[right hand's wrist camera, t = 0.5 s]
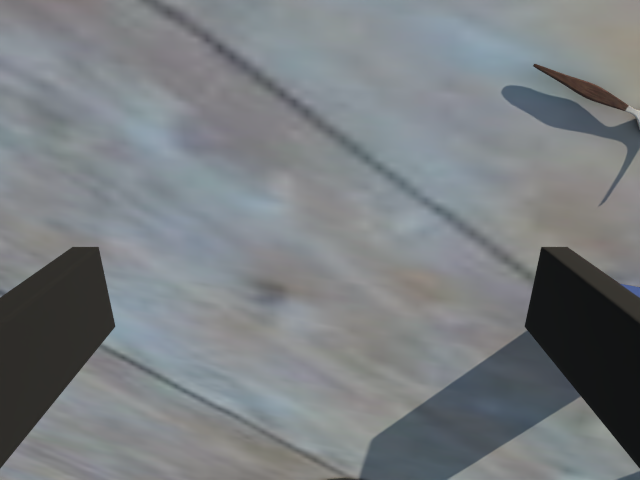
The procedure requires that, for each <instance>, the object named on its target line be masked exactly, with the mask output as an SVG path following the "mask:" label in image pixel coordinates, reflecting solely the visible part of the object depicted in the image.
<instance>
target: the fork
mask: <svg viewBox="0 0 640 480" xmlns="http://www.w3.org/2000/svg"><path fill="white" fill-rule="evenodd" d="M533 66H534V67H535V68H537V69H539V70H540V71H542V72H544V73H545V74H547V75H549V76H550V77H552V78H554V79H556V80H557V81H559V82H561V83H562V84H564V85H565V86H567V87H568V88H570V89H572V90H573V91H575V92H576V93H578V94H580V95H581V96H583V97H585V98H587V99H590V100H592V101H595V102H598V103H601V104H604V105H607V106H610V107H614V108H617V109H620V110H623V111H626V112H629V113H631V114H633V115H634V116H635V117H636V119H637V122H638V125H639V128H640V110H636V109H634V108H632V107H630V106H629V105H627V104H626V103H624V102H623V101H621V100H620V99H618V98H617V97H615V96H614V95H612V94H611V93H609V92H607V91H606V90H604V89H603V88H601V87H599V86H597V85H594V84H592V83H589V82H586V81H583V80H580V79H577V78H574V77H571V76H568V75H565V74H562V73H559V72H556V71H554V70H551V69H548V68H545V67H543V66H540V65H537V64H534V65H533Z"/></svg>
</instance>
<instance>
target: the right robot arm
mask: <svg viewBox="0 0 640 480" xmlns="http://www.w3.org/2000/svg"><path fill="white" fill-rule="evenodd" d="M114 327H115V323H114V318H113V313H112V309H111V304H110V299H109V294H108V290H107V285H106V280H105V276H104V271H103V266H102V261H101V257H100V252H99V247H72V248H71V249H69V250H68V251H66V252H65V253H63V254H62V255H61V256H59V257H58V258H56V259H55V260H53V261H52V262H51V263H49V264H48V265H46V266H45V267H43V268H42V269H41V270H39V271H38V272H36V273H35V274H33V275H32V276H31V277H29V278H28V279H26V280H25V281H23V282H22V283H21V284H19V285H18V286H16V287H15V288H13V289H12V290H11V291H9V292H8V293H6V294H5V295H3V296H2V297H1V298H0V468H1V467H2V466H3V464H4V463H5V462H6V461H7V459H8V458H9V457H10V456H11V454H12V453H13V452H14V451H15V450H16V448H17V447H18V446H19V445H20V443H21V442H22V441H23V440H24V438H25V437H26V436H27V435H28V434H29V432H30V431H31V430H32V429H33V427H34V426H35V425H36V424H37V422H38V421H39V420H40V419H41V417H42V416H43V415H44V414H45V413H46V411H47V410H48V409H49V408H50V406H51V405H52V404H53V403H54V401H55V400H56V399H57V398H58V397H59V395H60V394H61V393H62V392H63V390H64V389H65V388H66V387H67V385H68V384H69V383H70V382H71V380H72V379H73V378H74V377H75V376H76V374H77V373H78V372H79V371H80V369H81V368H82V367H83V366H84V364H85V363H86V362H87V361H88V360H89V358H90V357H91V356H92V355H93V353H94V352H95V351H96V350H97V348H98V347H99V346H100V345H101V343H102V342H103V341H104V340H105V339H106V337H107V336H108V335H109V334H110V332H111V331H112V330H113V329H114ZM525 327H526V329H527V330H528V331H529V332H530V334H531V335H532V336H533V337H534V339H535V340H536V341H537V342H538V343H539V345H540V346H541V347H542V348H543V350H544V351H545V352H546V353H547V355H548V356H549V357H550V358H551V360H552V361H553V362H554V363H555V364H556V366H557V367H558V368H559V369H560V371H561V372H562V373H563V374H564V376H565V377H566V378H567V379H568V380H569V382H570V383H571V384H572V385H573V387H574V388H575V389H576V390H577V392H578V393H579V394H580V395H581V397H582V398H583V399H584V400H585V401H586V403H587V404H588V405H589V406H590V408H591V409H592V410H593V411H594V413H595V414H596V415H597V416H598V417H599V419H600V420H601V421H602V422H603V424H604V425H605V426H606V427H607V429H608V430H609V431H610V432H611V434H612V435H613V436H614V437H615V438H616V440H617V441H618V442H619V443H620V445H621V446H622V447H623V448H624V450H625V451H626V452H627V453H628V454H629V456H630V457H631V458H632V459H633V461H634V462H635V463H636V464H637V466H638V467H639V468H640V298H639V297H638V296H637V295H635V294H634V293H632V292H631V291H629V290H628V289H627V288H625V287H624V286H622V285H621V284H619V283H618V282H617V281H615V280H614V279H612V278H611V277H609V276H608V275H607V274H605V273H604V272H602V271H601V270H599V269H598V268H597V267H595V266H594V265H592V264H591V263H589V262H588V261H587V260H585V259H584V258H582V257H581V256H579V255H578V254H577V253H575V252H574V251H572V250H571V249H569V248H568V247H541V252H540V257H539V261H538V266H537V271H536V276H535V280H534V285H533V290H532V294H531V299H530V304H529V309H528V313H527V318H526V323H525ZM329 480H356V479H346V478H339V479H329Z"/></svg>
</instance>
